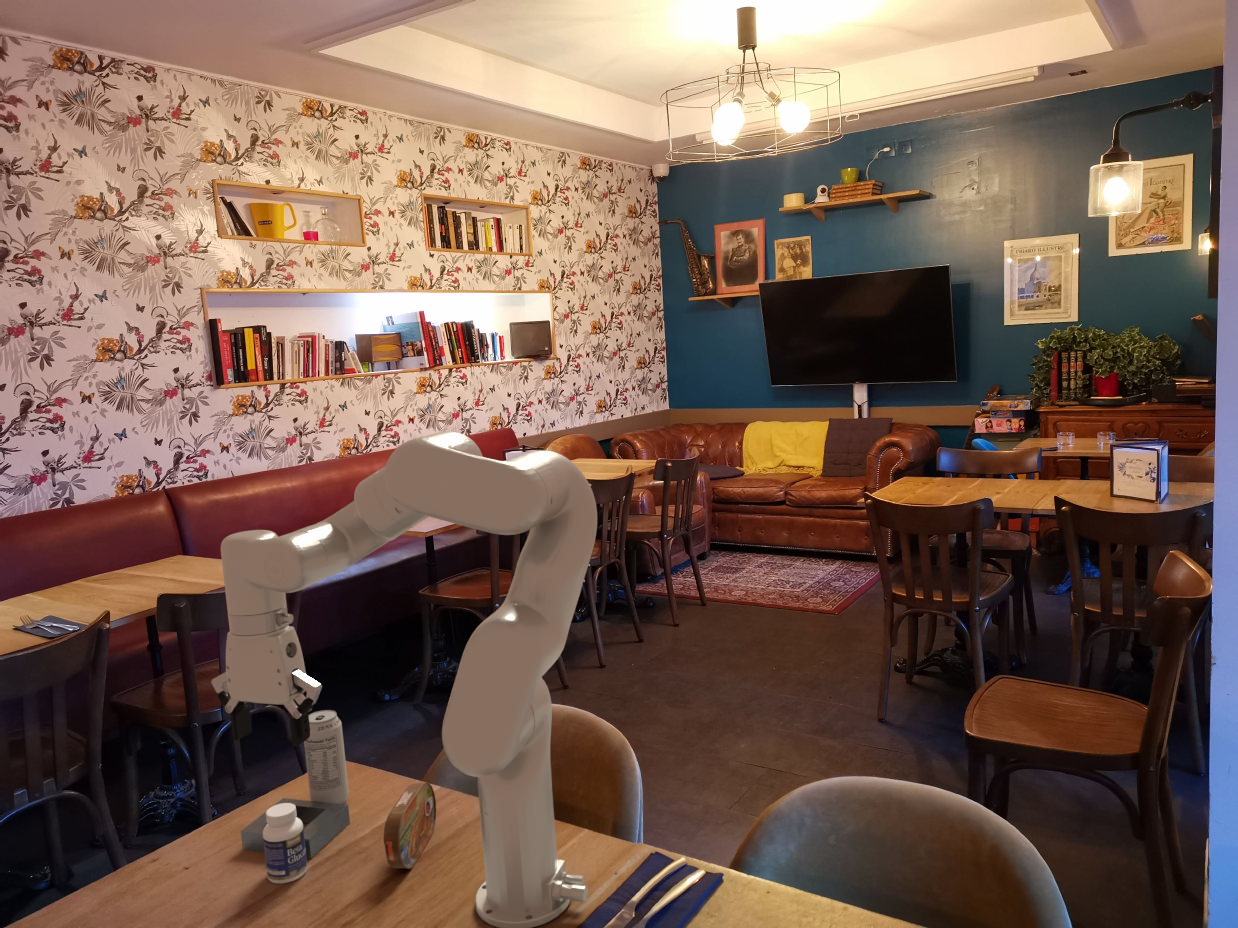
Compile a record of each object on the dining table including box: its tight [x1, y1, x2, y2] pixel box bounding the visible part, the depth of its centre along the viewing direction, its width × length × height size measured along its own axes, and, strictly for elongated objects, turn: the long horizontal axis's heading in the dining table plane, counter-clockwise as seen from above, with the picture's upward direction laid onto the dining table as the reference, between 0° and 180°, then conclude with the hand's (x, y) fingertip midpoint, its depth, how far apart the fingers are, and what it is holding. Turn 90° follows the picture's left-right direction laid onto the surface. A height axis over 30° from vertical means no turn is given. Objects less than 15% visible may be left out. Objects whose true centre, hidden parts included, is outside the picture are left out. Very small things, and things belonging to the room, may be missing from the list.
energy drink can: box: [303, 709, 350, 805], centre depth 146 cm, size 6×6×15 cm
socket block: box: [240, 797, 351, 859], centre depth 137 cm, size 12×10×3 cm
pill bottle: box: [263, 803, 308, 885], centre depth 127 cm, size 5×5×10 cm
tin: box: [383, 781, 437, 870], centre depth 131 cm, size 15×3×8 cm, turn 173°
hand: (271, 738), depth 125 cm, fingers open, 9 cm apart
